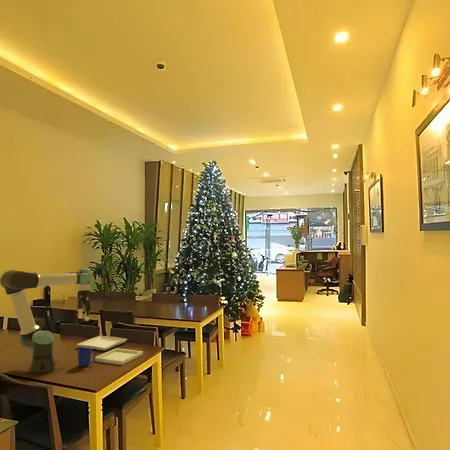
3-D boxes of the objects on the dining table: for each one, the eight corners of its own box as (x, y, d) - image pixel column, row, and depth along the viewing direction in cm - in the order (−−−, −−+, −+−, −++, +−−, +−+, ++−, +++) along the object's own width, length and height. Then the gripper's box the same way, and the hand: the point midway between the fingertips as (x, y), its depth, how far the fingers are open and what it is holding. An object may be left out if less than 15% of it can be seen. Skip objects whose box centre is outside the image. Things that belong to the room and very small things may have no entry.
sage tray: (122, 365, 241) (122, 361, 241) (94, 361, 249) (94, 357, 249) (142, 354, 262) (142, 351, 262) (116, 351, 271) (116, 348, 271)
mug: (91, 368, 236) (92, 352, 236) (74, 367, 238) (75, 351, 238) (98, 363, 244) (98, 348, 244) (82, 362, 246) (82, 347, 246)
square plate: (75, 349, 279) (75, 343, 279) (100, 339, 305) (100, 335, 305) (104, 352, 269) (104, 347, 269) (127, 343, 295) (127, 338, 295)
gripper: (96, 291, 264) (95, 321, 263) (83, 288, 283) (82, 316, 282) (85, 291, 259) (84, 322, 258) (73, 288, 278) (72, 317, 277)
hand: (83, 319), depth 270 cm, fingers open, 13 cm apart
